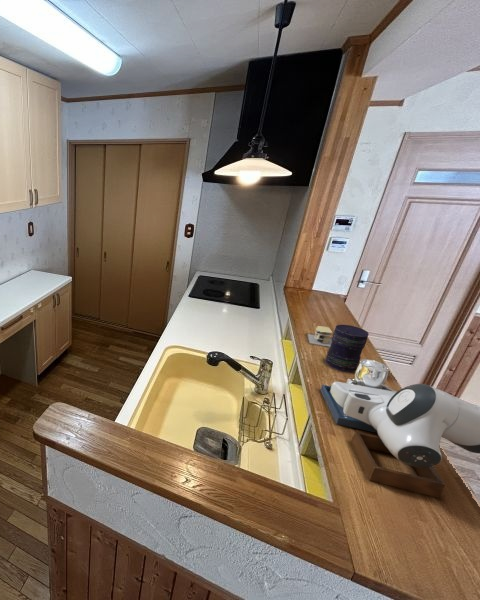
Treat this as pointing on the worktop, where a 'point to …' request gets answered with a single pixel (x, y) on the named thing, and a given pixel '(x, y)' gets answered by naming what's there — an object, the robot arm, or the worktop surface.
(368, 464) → the wooden square box
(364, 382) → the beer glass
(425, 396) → the robot arm
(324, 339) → the stacked layers on plate
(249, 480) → the worktop surface
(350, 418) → the tray
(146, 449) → the worktop surface
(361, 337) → the navy layered cylinder
